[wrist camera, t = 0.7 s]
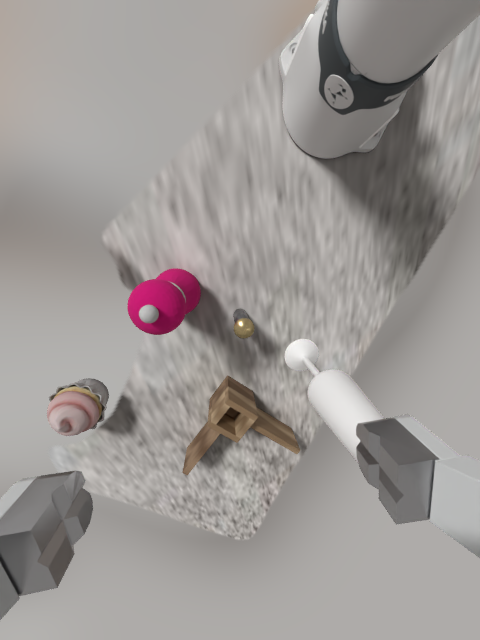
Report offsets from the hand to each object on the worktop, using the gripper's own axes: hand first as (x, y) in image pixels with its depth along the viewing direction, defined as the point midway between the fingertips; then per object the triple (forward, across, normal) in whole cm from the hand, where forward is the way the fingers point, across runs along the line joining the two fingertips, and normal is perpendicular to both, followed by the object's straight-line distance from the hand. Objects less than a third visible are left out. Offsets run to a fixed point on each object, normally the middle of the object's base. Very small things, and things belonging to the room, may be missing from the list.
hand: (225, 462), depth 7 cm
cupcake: (+37, +27, +15) cm, 48 cm away
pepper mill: (+36, +7, -2) cm, 37 cm away
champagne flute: (+36, -13, +14) cm, 41 cm away
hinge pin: (+36, -3, +4) cm, 37 cm away
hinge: (+36, +1, +28) cm, 46 cm away
